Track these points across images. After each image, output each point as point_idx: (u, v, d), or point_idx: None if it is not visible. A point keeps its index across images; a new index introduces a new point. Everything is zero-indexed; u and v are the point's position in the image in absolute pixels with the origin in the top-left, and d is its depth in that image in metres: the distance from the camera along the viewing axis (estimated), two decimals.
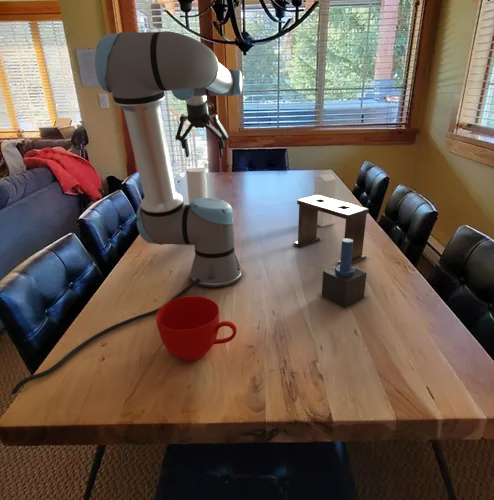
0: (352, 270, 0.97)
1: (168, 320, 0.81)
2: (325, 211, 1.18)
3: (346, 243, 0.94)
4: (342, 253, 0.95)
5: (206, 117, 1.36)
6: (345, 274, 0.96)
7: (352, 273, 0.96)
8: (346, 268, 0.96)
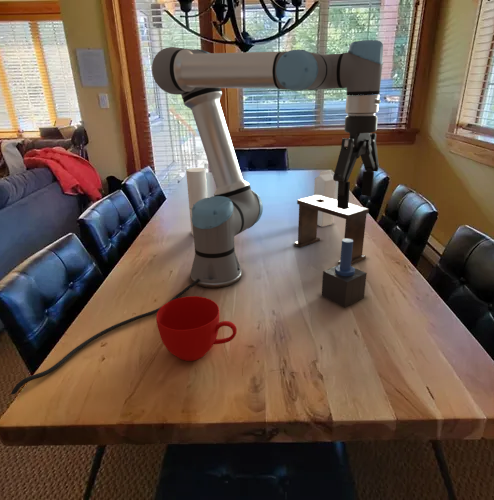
0: (352, 270, 0.97)
1: (168, 320, 0.81)
2: (325, 211, 1.18)
3: (346, 243, 0.94)
4: (342, 253, 0.95)
5: None
6: (345, 274, 0.96)
7: (352, 273, 0.96)
8: (346, 268, 0.96)
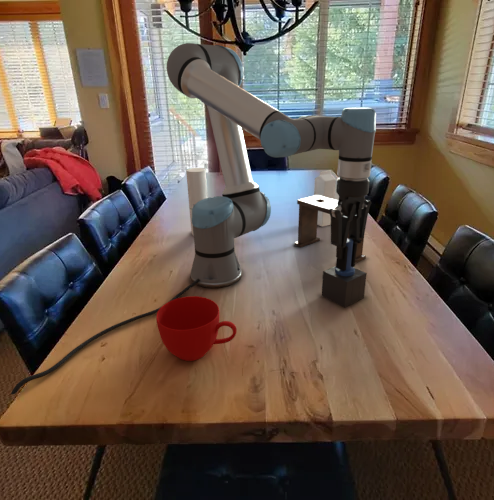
0: (352, 270, 0.97)
1: (168, 320, 0.81)
2: (325, 211, 1.18)
3: (346, 243, 0.94)
4: None
5: None
6: (345, 274, 0.96)
7: (352, 273, 0.96)
8: (346, 268, 0.96)
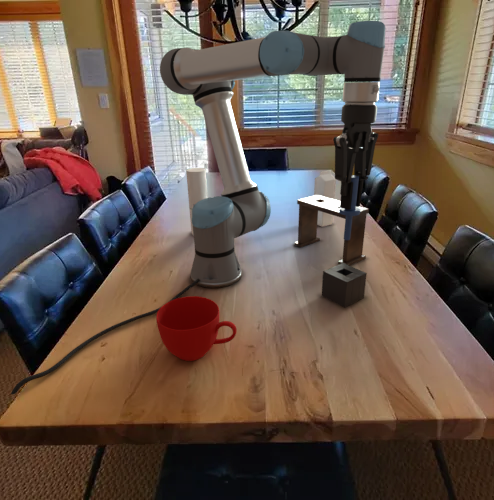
0: (357, 210, 0.90)
1: (168, 320, 0.81)
2: (325, 211, 1.18)
3: (352, 179, 0.87)
4: None
5: None
6: (350, 213, 0.89)
7: (357, 213, 0.90)
8: (351, 207, 0.90)
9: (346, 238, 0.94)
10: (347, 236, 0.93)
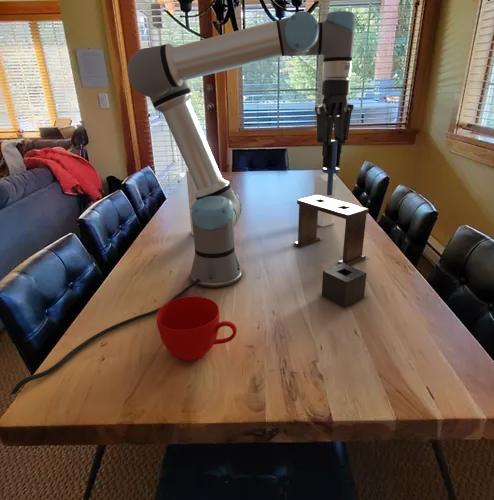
0: (337, 169, 1.09)
1: (168, 320, 0.81)
2: (325, 211, 1.18)
3: (331, 142, 1.06)
4: None
5: None
6: (330, 171, 1.08)
7: (337, 171, 1.09)
8: (331, 166, 1.09)
9: (328, 193, 1.13)
10: (329, 192, 1.12)
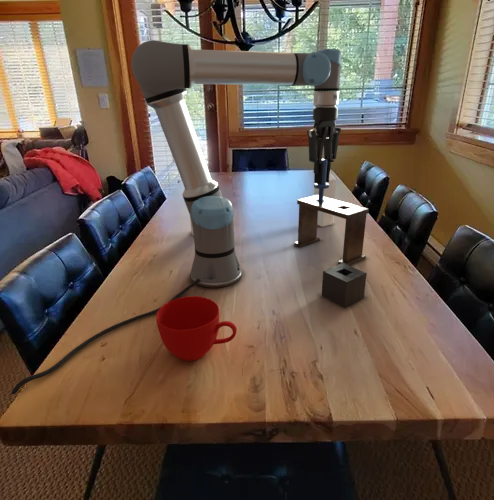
0: (327, 184, 1.23)
1: (168, 320, 0.81)
2: (325, 211, 1.18)
3: (322, 161, 1.19)
4: None
5: None
6: (321, 187, 1.22)
7: (327, 186, 1.22)
8: (322, 182, 1.22)
9: None
10: None
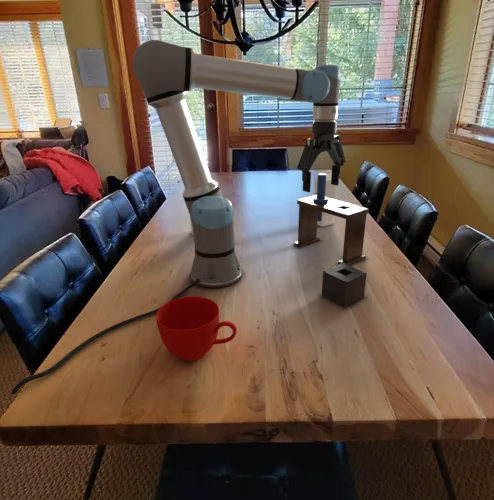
0: (326, 198, 1.24)
1: (168, 320, 0.81)
2: (325, 211, 1.18)
3: (321, 176, 1.21)
4: (318, 184, 1.23)
5: None
6: (320, 201, 1.23)
7: (326, 200, 1.24)
8: (321, 196, 1.24)
9: (319, 219, 1.28)
10: (319, 218, 1.28)
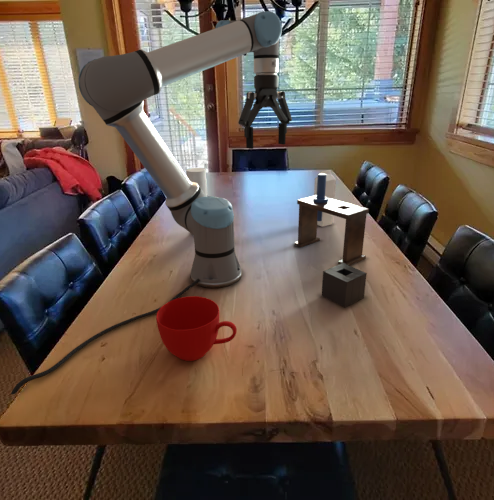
0: (326, 198, 1.24)
1: (168, 320, 0.81)
2: (325, 211, 1.18)
3: (321, 176, 1.21)
4: (318, 184, 1.23)
5: None
6: (320, 201, 1.23)
7: (326, 200, 1.24)
8: (321, 196, 1.24)
9: (319, 219, 1.28)
10: (319, 218, 1.28)
